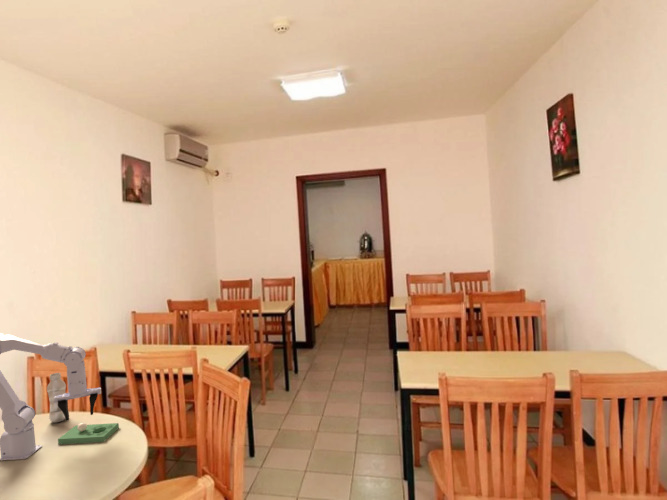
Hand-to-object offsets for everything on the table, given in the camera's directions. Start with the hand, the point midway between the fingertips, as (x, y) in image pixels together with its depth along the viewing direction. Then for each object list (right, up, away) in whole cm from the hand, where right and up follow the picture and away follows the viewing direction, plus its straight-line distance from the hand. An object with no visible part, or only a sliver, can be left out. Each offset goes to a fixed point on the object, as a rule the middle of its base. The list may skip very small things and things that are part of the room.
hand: (79, 416), depth 144 cm
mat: (+1, -9, +4) cm, 10 cm away
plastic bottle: (-21, -10, +18) cm, 29 cm away
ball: (-2, -6, +4) cm, 7 cm away
